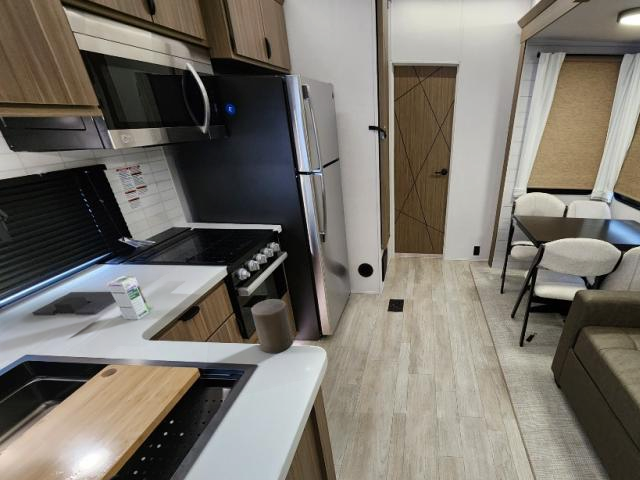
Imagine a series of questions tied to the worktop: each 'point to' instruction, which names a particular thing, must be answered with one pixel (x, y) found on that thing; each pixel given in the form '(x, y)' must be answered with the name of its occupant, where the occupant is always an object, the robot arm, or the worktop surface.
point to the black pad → (70, 305)
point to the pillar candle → (272, 325)
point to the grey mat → (94, 306)
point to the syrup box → (129, 297)
